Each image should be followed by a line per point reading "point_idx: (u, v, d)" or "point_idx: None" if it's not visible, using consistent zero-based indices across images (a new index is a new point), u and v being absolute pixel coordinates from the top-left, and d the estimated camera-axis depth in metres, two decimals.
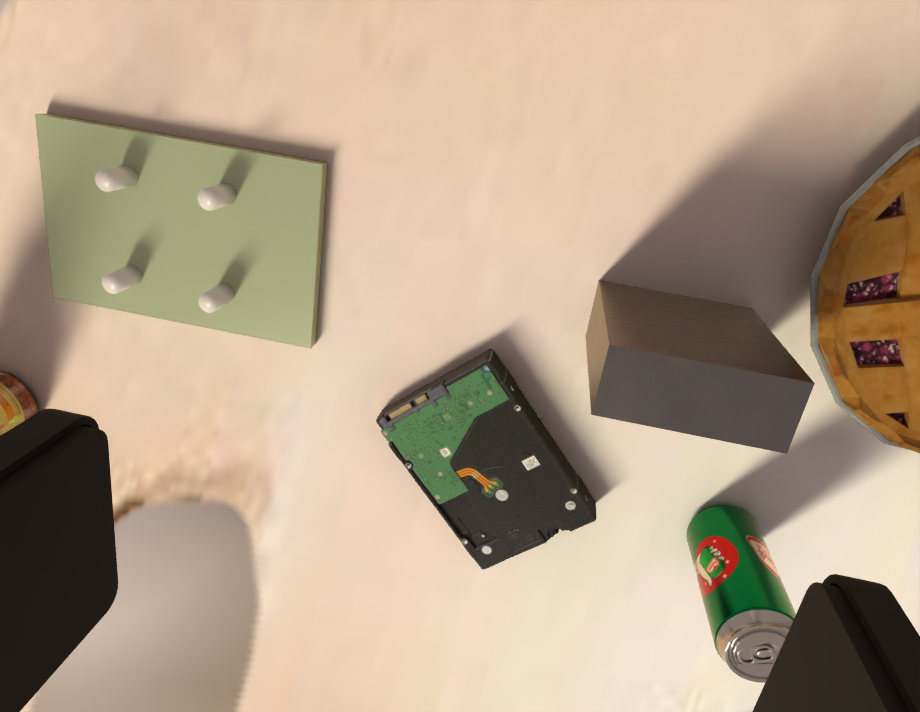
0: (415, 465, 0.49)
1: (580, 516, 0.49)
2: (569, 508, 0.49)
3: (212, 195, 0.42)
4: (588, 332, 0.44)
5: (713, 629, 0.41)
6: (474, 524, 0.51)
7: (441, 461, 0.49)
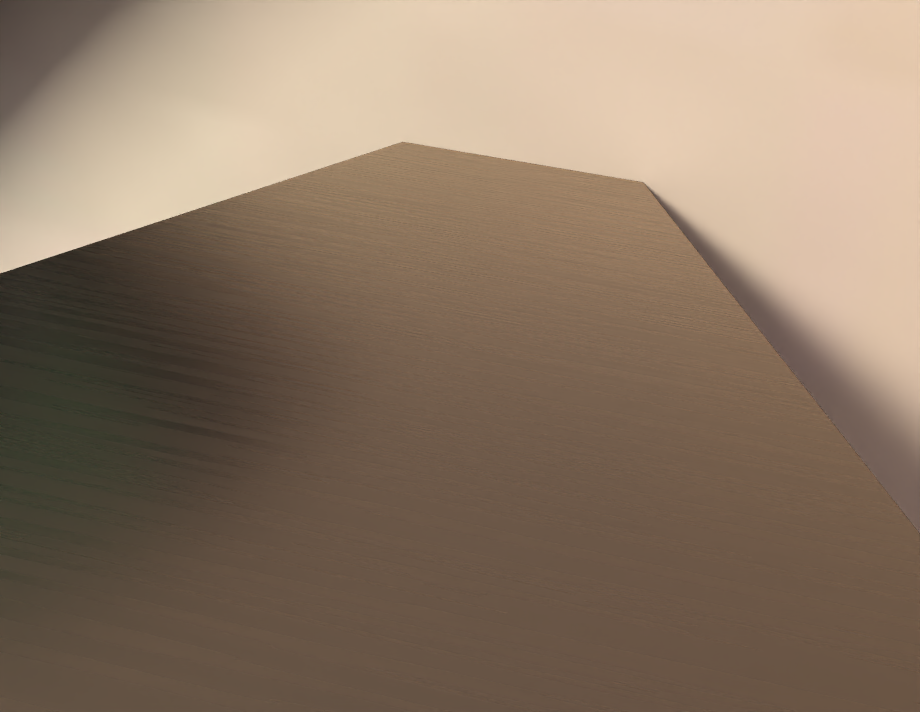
0: None
1: None
2: None
3: None
4: (429, 155, 0.10)
5: None
6: None
7: None
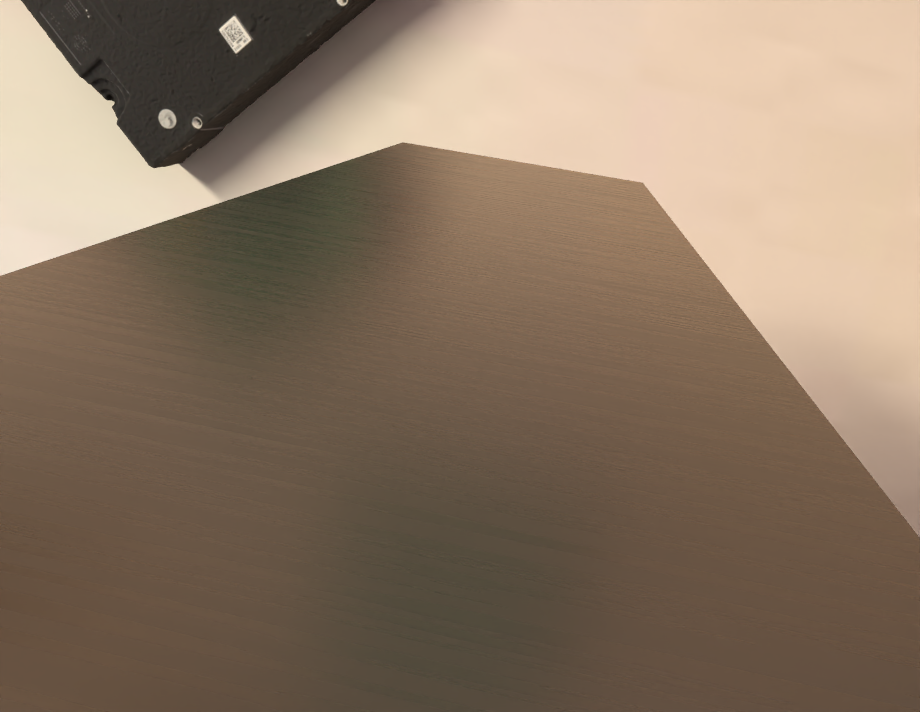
0: None
1: (150, 139, 0.27)
2: (161, 117, 0.27)
3: None
4: (429, 156, 0.10)
5: None
6: None
7: None
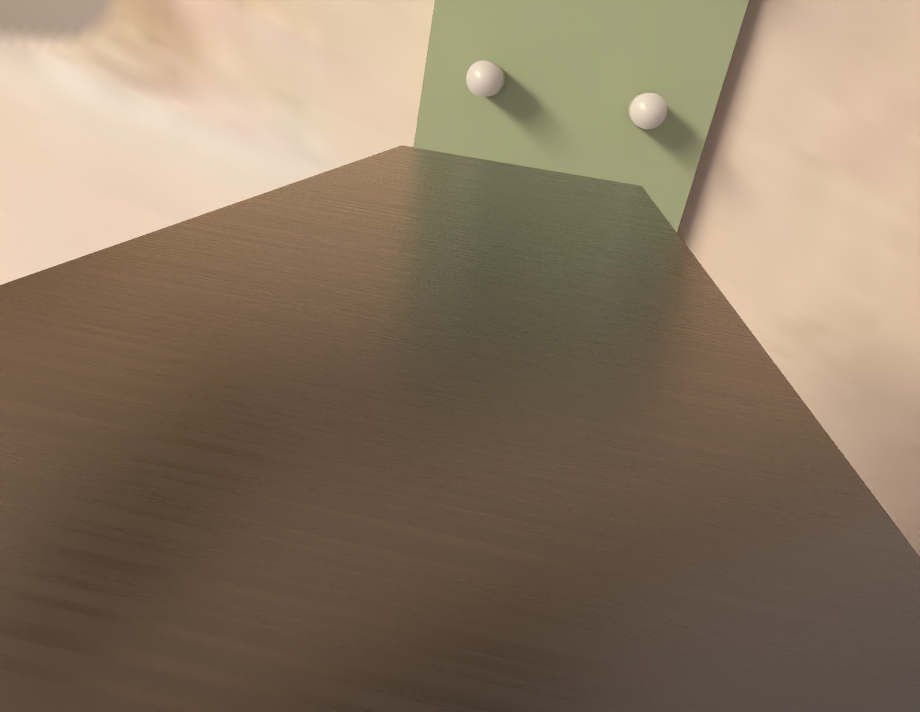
0: None
1: None
2: None
3: (655, 120, 0.27)
4: (428, 159, 0.10)
5: None
6: None
7: None
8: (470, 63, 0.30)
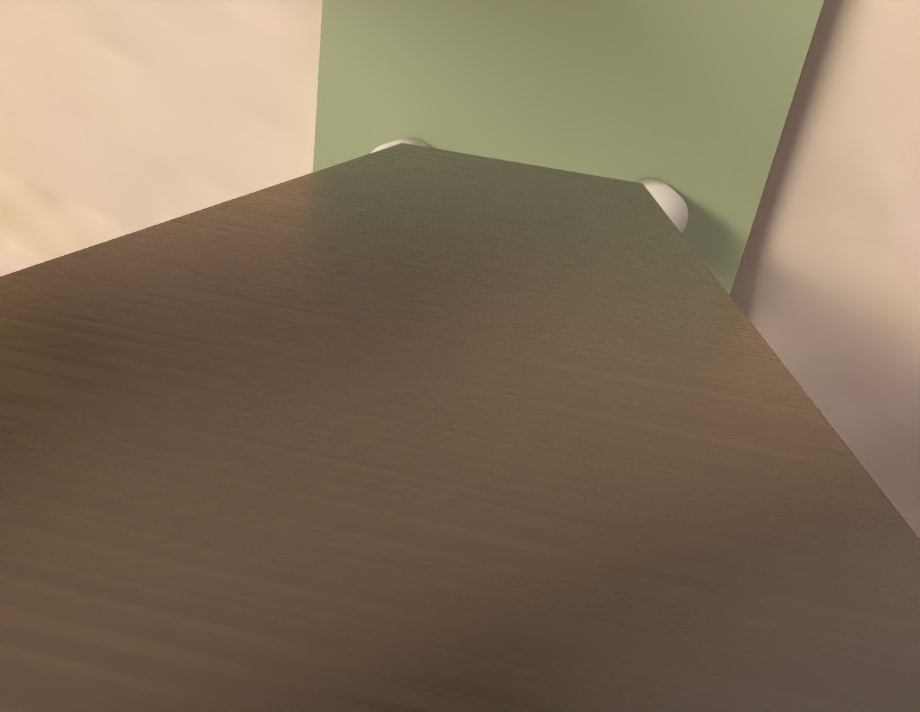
0: None
1: None
2: None
3: None
4: (428, 156, 0.10)
5: None
6: None
7: None
8: None
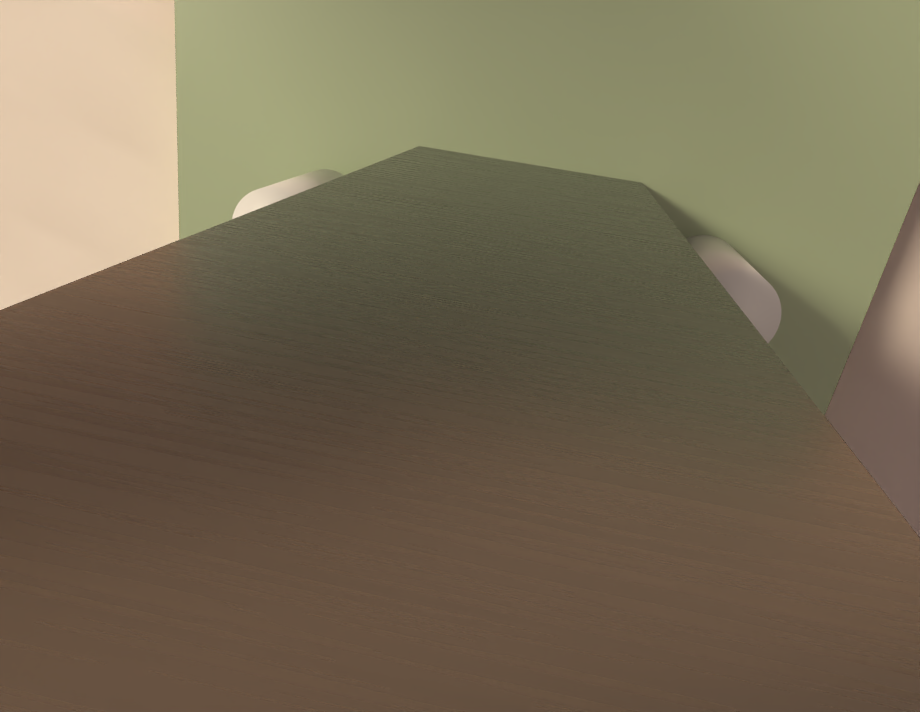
0: None
1: None
2: None
3: None
4: (445, 158, 0.11)
5: None
6: None
7: None
8: None
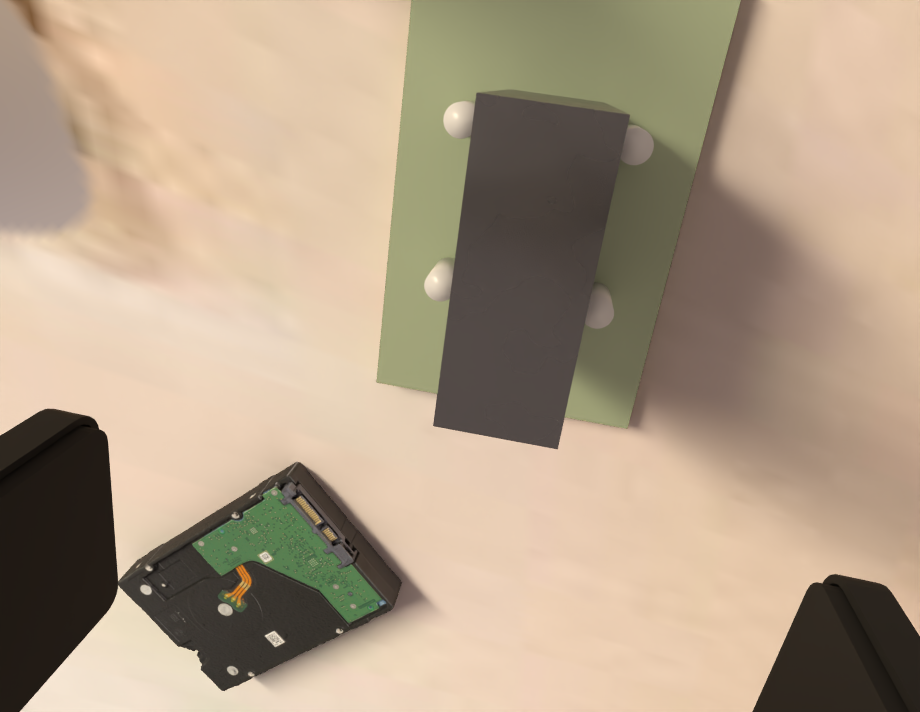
0: (238, 523, 0.38)
1: (222, 678, 0.43)
2: (228, 669, 0.43)
3: (603, 321, 0.29)
4: (525, 91, 0.27)
5: None
6: (176, 575, 0.41)
7: (251, 551, 0.39)
8: (429, 258, 0.32)
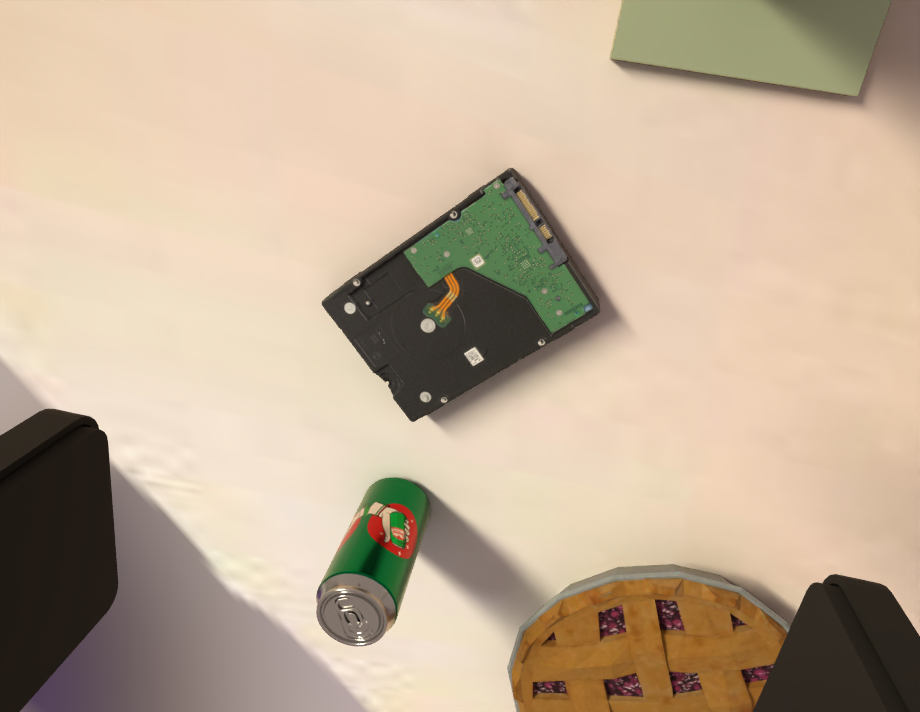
0: (455, 224, 0.40)
1: (413, 407, 0.45)
2: (421, 396, 0.44)
3: None
4: None
5: (357, 566, 0.40)
6: (381, 292, 0.42)
7: (464, 255, 0.40)
8: None
